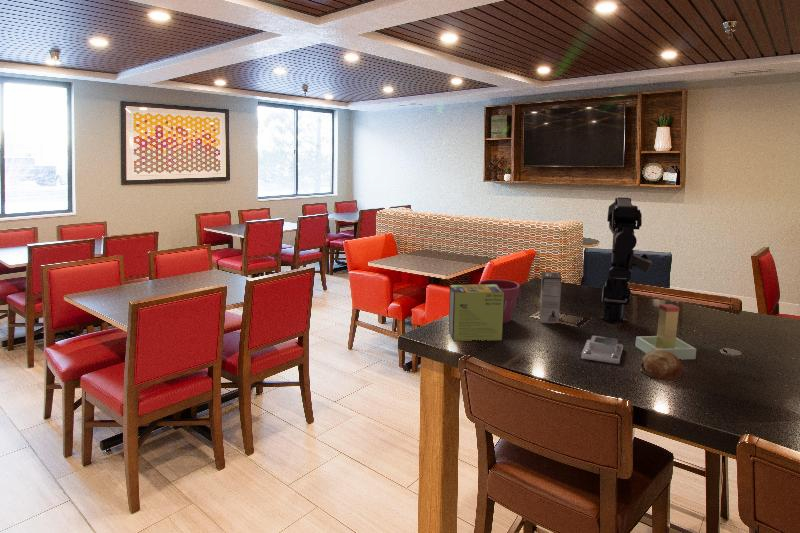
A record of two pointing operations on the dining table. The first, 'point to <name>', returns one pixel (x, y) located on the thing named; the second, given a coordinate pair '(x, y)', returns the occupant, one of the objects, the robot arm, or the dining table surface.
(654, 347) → the tray
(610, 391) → the dining table surface
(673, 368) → the bread roll
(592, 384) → the dining table surface
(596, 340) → the bracket
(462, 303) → the protein box
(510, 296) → the plant pot
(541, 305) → the coffee box
